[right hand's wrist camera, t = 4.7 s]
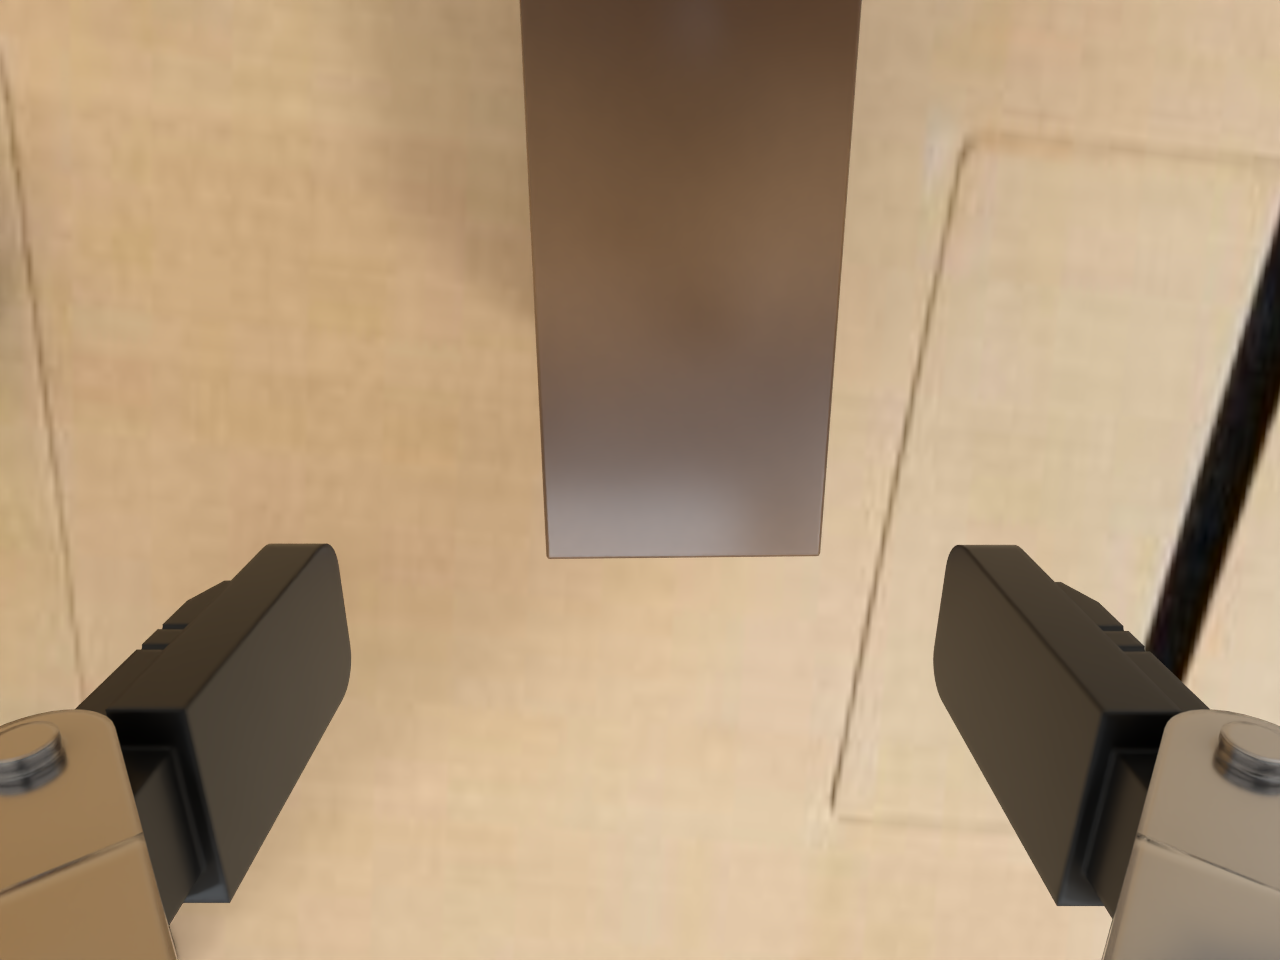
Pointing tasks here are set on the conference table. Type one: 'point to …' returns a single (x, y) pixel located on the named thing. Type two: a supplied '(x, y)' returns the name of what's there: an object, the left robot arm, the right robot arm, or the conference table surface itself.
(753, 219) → the box
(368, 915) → the conference table surface
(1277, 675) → the conference table surface
